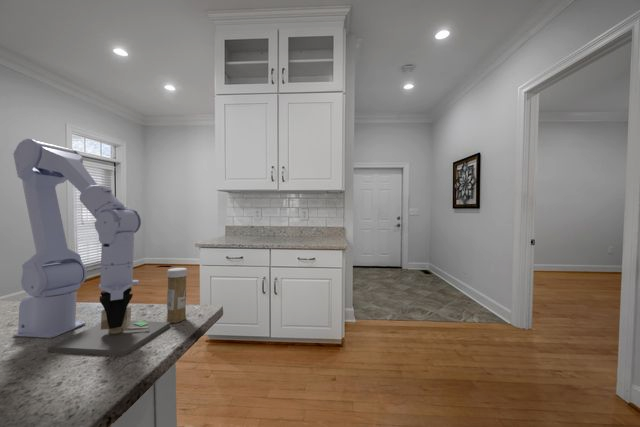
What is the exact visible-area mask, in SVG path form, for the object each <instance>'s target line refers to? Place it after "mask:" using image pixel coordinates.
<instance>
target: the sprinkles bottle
mask: <svg viewBox="0 0 640 427" xmlns="http://www.w3.org/2000/svg"><path fill="white" fill-rule="evenodd" d="M166 276H167V289H166V290H167V294H166V295H167V297H166V298H167V299H166V301H167V303H166V308H167V313H166V314H167V315H166V316H167V318H166V322H170V324H173V323H175V324H176V323H180V322H183V321H184V320H185V319H187V316H186V306H187V276H188V268H186V267H173V268H168V269H167V273H166Z"/></svg>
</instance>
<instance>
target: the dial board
mask: <svg viewBox="0 0 640 427" xmlns="http://www.w3.org/2000/svg"><path fill="white" fill-rule="evenodd" d="M134 327H149V329H143V330H129V331H122V332H121V333H118V334H108V330H109V329H104V330H101V322H100V323H98V324H96V325H94V326H91V327H89V328H88V329H85V330H82V331H80V332H78V333H75V334H74V335H73V334H72V335H71V336H69V337H67V338H64V339H62V340H60V341H58V342H55V343H53V344H51V345H48V346H47V352H48V353H63V354H80V355H97V356H98V355H101V356H116V357H117V356H118V357H125V356H126V355H128V354H130V353H131V352H133V351H135V350H136V349H138V348H139V347H140V346H142V345H144V344H146V342H149V341H150V340H151V339H153V338H155V337H157V336H158V335H159V334H161V333H162V332H164V331H165V330H167V329H168V328H170V327H171V323H170V322H167V321H148V320H131V324H130V326H129V327H128V328H134ZM123 329H124V328H123Z"/></svg>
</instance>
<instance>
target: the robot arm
mask: <svg viewBox="0 0 640 427" xmlns="http://www.w3.org/2000/svg"><path fill="white" fill-rule="evenodd" d="M13 160H14V164H15V170H16V174H17V177H18V178H19V179H20V180H22V188H23V191H24V192H23V193H24V197H25V203H26V208H27V212H28V218H29V223H30V228H31V232H32V238H33V242H34V248H35V254H34V255H33V256H30V258H28V259H27V260H26V261H25V262H24V263H22V264H21V265H22V266H21V267H22V275H21V280H20V283H21V288H22V289H23V291H24V292H25V293H26V294H27V295H25V297H23V298H22V300H21V301H20V303H19V306H18V323H17V324H18V326H17V330H18V331H17V332H15V333H13V337H25V338H26V337H27V338H47V339H52V338H55V337H57V336H60V335H63V334H64V333H68V332H69V331H72V330H75V329H78V328H79V327H81V326H84V325H86V321H78V320H77V319H76V318H77V315H76V314H77V290H79V289H81V285H83V283H85V281H86V280H87V276H88V271H87V267H86V265H85V264H84V263H83V261H82V258H81V254H80V253H77V252H75V251H73V250H71V249H69V247H68V243H67V238H66V234H65V230H64V224H63V223H64V222H63V219H62V215H61V210H60V205H59V199H58V195H57V194H58V193H57V189H56V188H57V186H58V185H60V184H64V183H65V182H66V181H69V183H71V185H72V186H73V187H74V188H75V189H76V190H78V192H80V194H79V197H78V198H79V201H80V202H81V203H82V205H83V206H84V207H85V208H86V209H87V211H88V212H89V213H90V214H91V215H92V216H93V218H94V219H95V221H94V228H95V231H96V232H97V234H98V242H99V243H100V244H101V249H100V250H101V252H100V253H101V255H100V277H99V278H100V280H99V285H98V289H99V290H101V291H100V296H99V302H100V304H101V305H102V307H103V310H104V309H105V312H106V316H107V321H108V326H109V328H110V329H112V328H117V327H121V326H122V324H123V320H124V316H125V312H126V308H128V307H129V306H128V305H129V303H130V302H131V300H132V298H133V296H134V295H133V293H131V292H132V290H133V289H132V286H135V285H136V286H137V285H140V284H139V283H140V281H139V280H138V279H134V278H133V274H134V252H135V251H134V250H135V248H134V247H135V233H137V232H138V231H139V230H140V228H141V225H142V218H141V216H140V214H139V213H138V211H137V210H135V209H132V208H128V207H125V205H124V204H123V203H122V202H121V200H119V199H118V198H117V197H116V196H115V195H114V194H113V190H112V189H111V188H110V187H108V186H105V185H101V184H100V185H99V184H97V182H96V181H95V180H94V178H93V177H92V175H91V174H90V172H89V171H88V170H87V168H86V167H85V166H84V157H83V156H82V155H80V153H79V152H78V150H77V149H74V148H70V147H68V148H67V147H64V146H59V145H55V144H51V143H46V142H42V141H37V140H35V139H32V138H25V139H23V140H21V141H20V142H19V143H18V144H17V145H16V148H15V149H14V152H13Z"/></svg>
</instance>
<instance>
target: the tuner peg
mask: <svg viewBox="0 0 640 427" xmlns="http://www.w3.org/2000/svg"><path fill="white" fill-rule="evenodd" d="M131 314H132V307H131V306H130V307H129V306H128V307H127V308H126V312H125V316H124V320H123V324H122V326H121V327H117V328H112V329H110V328H109V326H108V321H107V316H106V312H105V309H104V308H103V310H101V312H100V316H101V317H100V323H101V330H104V329H109V330H108V334H118V333H121V332H122V331H129V330H143V329H149V327H134V328H128V327H129V326H130V324H131V321H132V320H131V318H132V315H131ZM123 328H124V329H123Z"/></svg>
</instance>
